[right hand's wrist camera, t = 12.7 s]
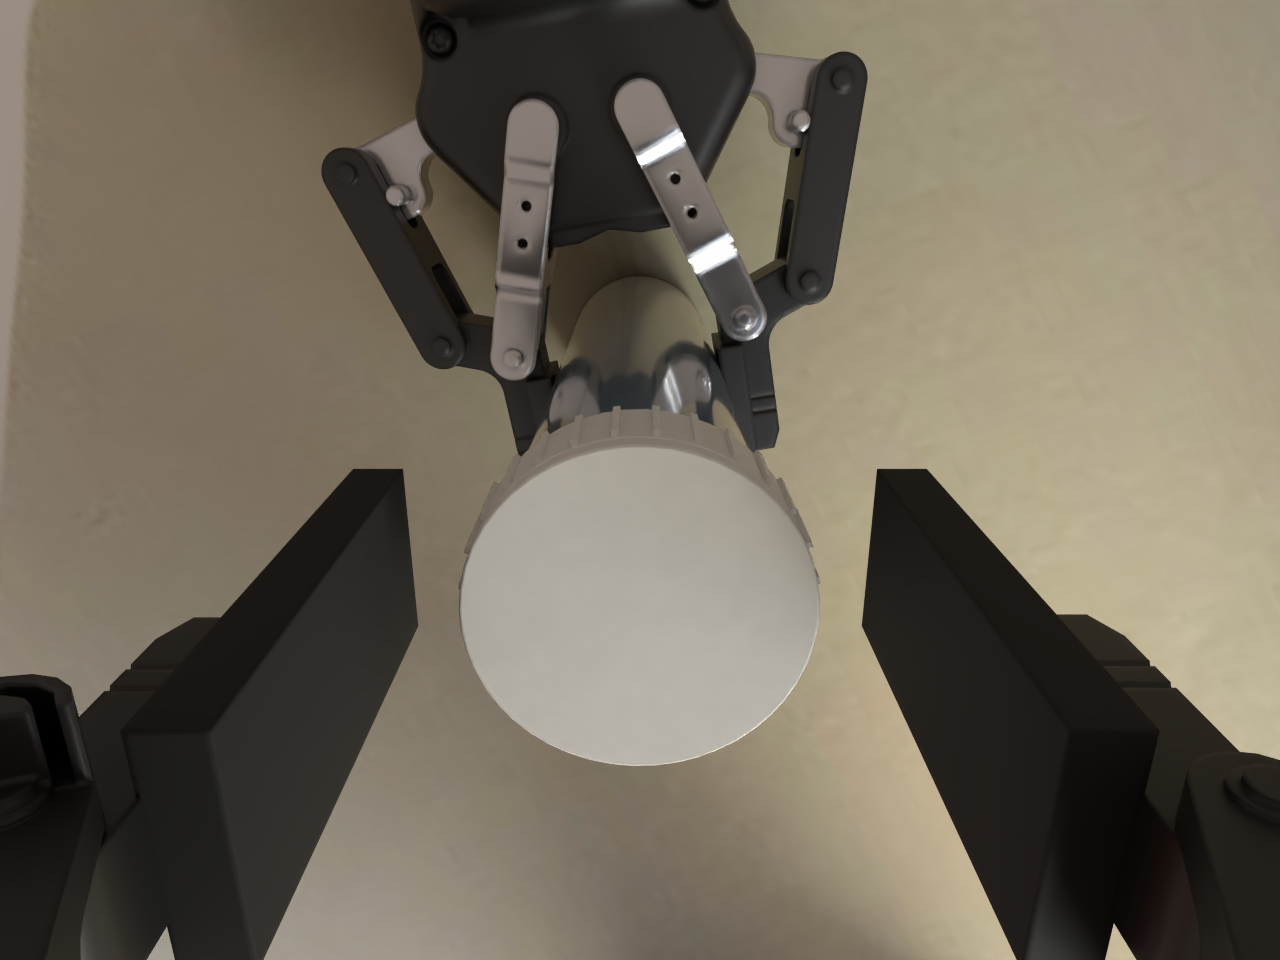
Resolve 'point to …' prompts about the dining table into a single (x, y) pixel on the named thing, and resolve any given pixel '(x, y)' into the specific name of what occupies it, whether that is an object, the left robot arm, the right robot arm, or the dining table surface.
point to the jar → (639, 359)
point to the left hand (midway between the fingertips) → (654, 476)
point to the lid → (639, 589)
